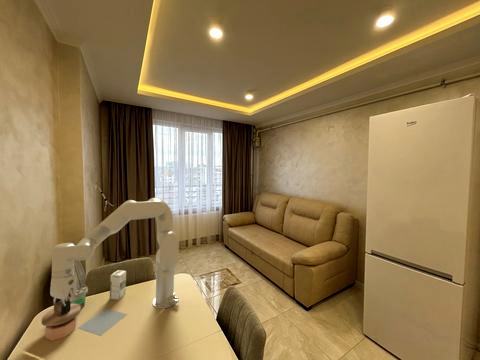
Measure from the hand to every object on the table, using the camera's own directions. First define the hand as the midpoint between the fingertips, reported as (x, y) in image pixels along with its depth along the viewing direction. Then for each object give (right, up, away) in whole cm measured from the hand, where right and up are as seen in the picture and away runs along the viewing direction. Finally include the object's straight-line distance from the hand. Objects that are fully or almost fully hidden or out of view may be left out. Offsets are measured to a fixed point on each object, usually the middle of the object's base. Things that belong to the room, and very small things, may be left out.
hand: (62, 311), depth 88 cm
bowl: (0, -9, 0) cm, 9 cm away
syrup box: (+9, -9, +26) cm, 29 cm away
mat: (+14, -10, +7) cm, 18 cm away
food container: (-5, -9, +14) cm, 17 cm away
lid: (0, -2, 0) cm, 2 cm away
